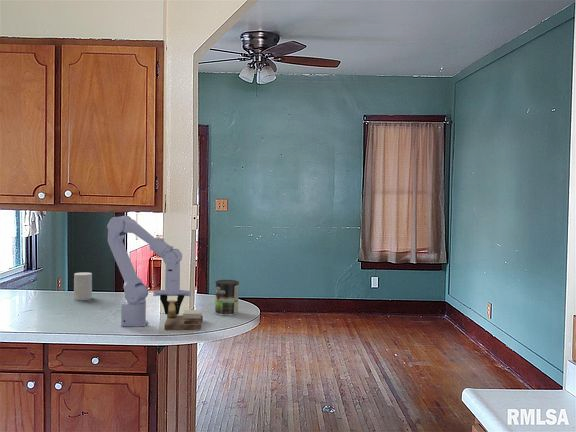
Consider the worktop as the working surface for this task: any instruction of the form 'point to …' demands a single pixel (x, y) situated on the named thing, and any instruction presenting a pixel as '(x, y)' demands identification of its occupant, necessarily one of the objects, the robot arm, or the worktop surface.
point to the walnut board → (183, 323)
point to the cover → (192, 314)
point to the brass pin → (171, 309)
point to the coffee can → (226, 297)
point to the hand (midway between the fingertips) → (172, 313)
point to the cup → (83, 286)
